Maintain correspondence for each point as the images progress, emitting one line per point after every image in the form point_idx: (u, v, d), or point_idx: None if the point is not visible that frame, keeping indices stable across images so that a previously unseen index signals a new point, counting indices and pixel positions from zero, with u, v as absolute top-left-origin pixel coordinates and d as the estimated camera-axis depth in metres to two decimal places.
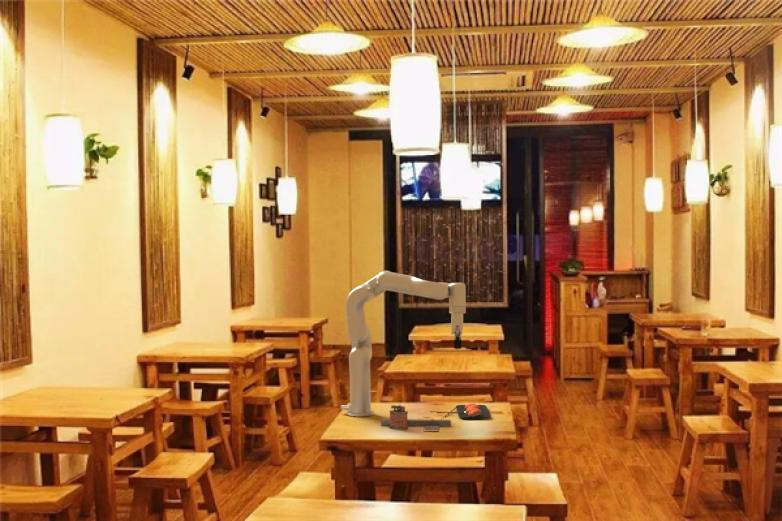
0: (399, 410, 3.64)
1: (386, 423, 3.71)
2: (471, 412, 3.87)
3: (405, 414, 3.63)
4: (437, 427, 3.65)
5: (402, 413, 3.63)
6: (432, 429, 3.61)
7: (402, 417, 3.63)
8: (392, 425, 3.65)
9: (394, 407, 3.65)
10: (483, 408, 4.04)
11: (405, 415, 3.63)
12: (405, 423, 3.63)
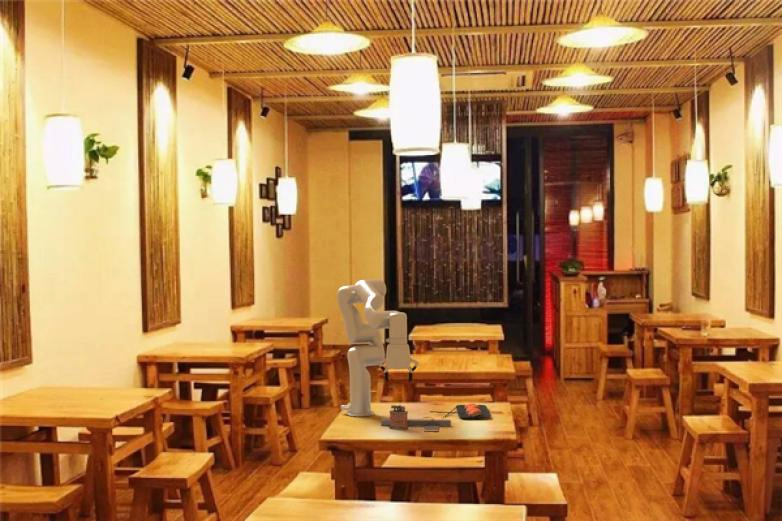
0: (399, 410, 3.64)
1: (386, 423, 3.71)
2: (471, 412, 3.87)
3: (405, 414, 3.63)
4: (437, 427, 3.65)
5: (402, 413, 3.63)
6: (432, 429, 3.61)
7: (402, 417, 3.63)
8: (392, 425, 3.65)
9: (394, 407, 3.65)
10: (483, 408, 4.04)
11: (405, 415, 3.63)
12: (405, 423, 3.63)
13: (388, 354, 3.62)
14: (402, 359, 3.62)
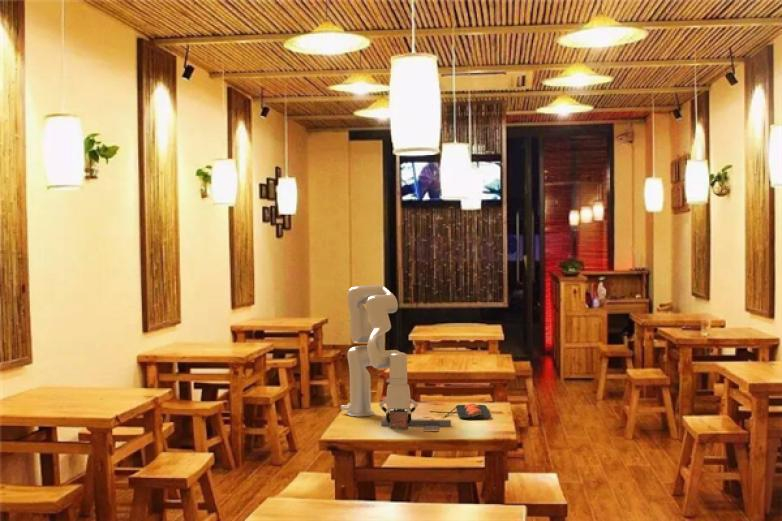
0: (399, 410, 3.64)
1: (386, 423, 3.71)
2: (471, 412, 3.87)
3: (405, 414, 3.63)
4: (437, 427, 3.65)
5: (402, 413, 3.63)
6: (432, 429, 3.61)
7: (402, 417, 3.63)
8: (392, 425, 3.65)
9: None
10: (483, 408, 4.04)
11: (405, 415, 3.63)
12: (405, 423, 3.63)
13: (388, 394, 3.63)
14: (402, 400, 3.62)
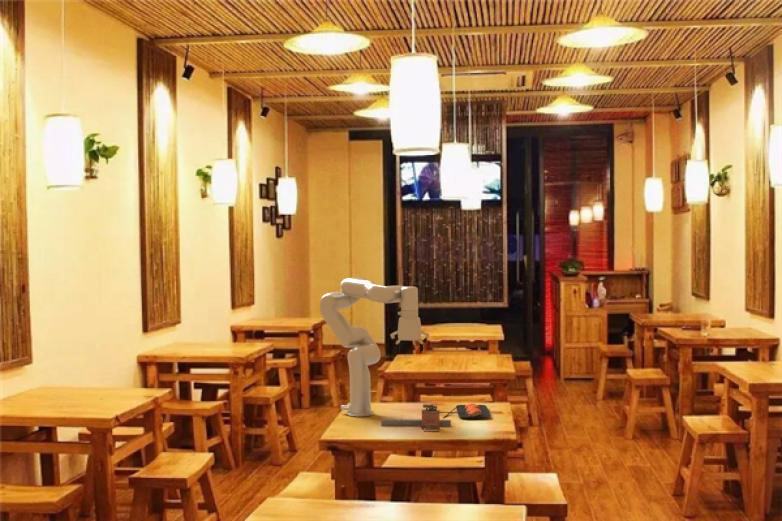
0: (431, 409, 3.63)
1: (386, 423, 3.71)
2: (471, 412, 3.87)
3: (437, 413, 3.62)
4: None
5: (434, 412, 3.62)
6: (432, 429, 3.61)
7: (434, 416, 3.62)
8: (424, 424, 3.64)
9: (426, 406, 3.64)
10: (483, 408, 4.04)
11: (437, 414, 3.62)
12: (437, 422, 3.62)
13: (400, 326, 3.77)
14: (413, 331, 3.76)
